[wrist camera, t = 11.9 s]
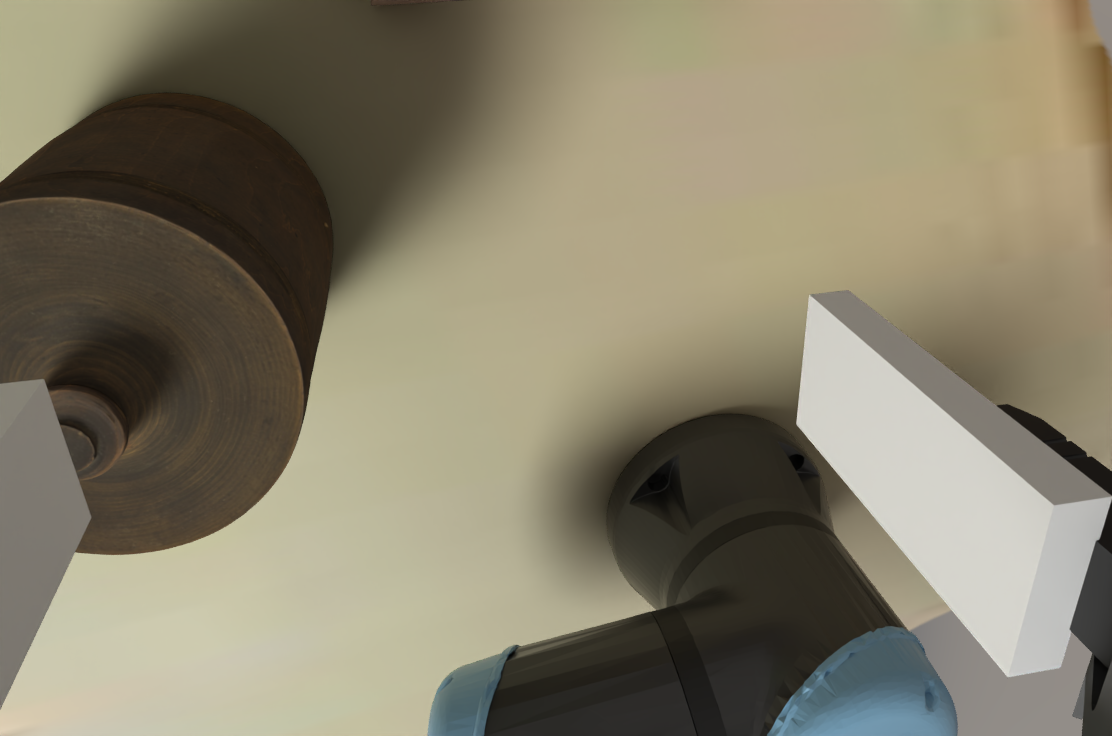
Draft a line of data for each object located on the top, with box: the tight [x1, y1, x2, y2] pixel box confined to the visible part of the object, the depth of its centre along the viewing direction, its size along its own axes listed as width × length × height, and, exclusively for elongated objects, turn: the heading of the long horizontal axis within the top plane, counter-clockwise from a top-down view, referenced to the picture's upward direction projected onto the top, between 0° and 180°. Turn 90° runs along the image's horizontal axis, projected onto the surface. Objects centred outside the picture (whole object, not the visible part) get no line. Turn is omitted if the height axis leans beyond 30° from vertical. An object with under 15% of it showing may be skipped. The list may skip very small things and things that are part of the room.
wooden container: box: [0, 93, 333, 555], centre depth 38 cm, size 15×15×22 cm
